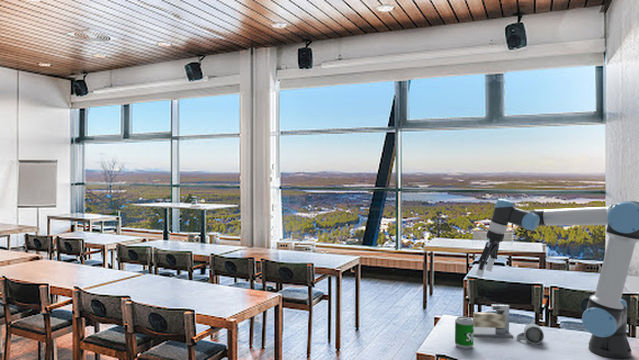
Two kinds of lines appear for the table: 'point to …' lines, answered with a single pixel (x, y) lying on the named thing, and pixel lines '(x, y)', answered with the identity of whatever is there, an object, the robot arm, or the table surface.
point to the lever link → (489, 319)
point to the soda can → (464, 332)
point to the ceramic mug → (532, 334)
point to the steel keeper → (506, 313)
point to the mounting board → (491, 332)
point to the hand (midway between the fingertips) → (483, 273)
